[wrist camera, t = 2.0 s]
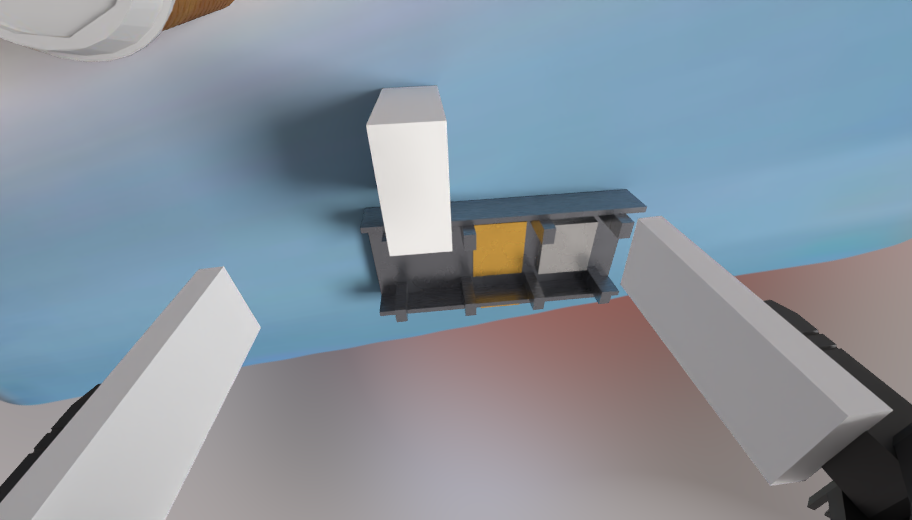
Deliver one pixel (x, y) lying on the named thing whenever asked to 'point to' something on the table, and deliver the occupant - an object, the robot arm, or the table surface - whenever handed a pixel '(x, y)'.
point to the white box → (412, 169)
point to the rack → (508, 253)
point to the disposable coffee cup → (95, 24)
